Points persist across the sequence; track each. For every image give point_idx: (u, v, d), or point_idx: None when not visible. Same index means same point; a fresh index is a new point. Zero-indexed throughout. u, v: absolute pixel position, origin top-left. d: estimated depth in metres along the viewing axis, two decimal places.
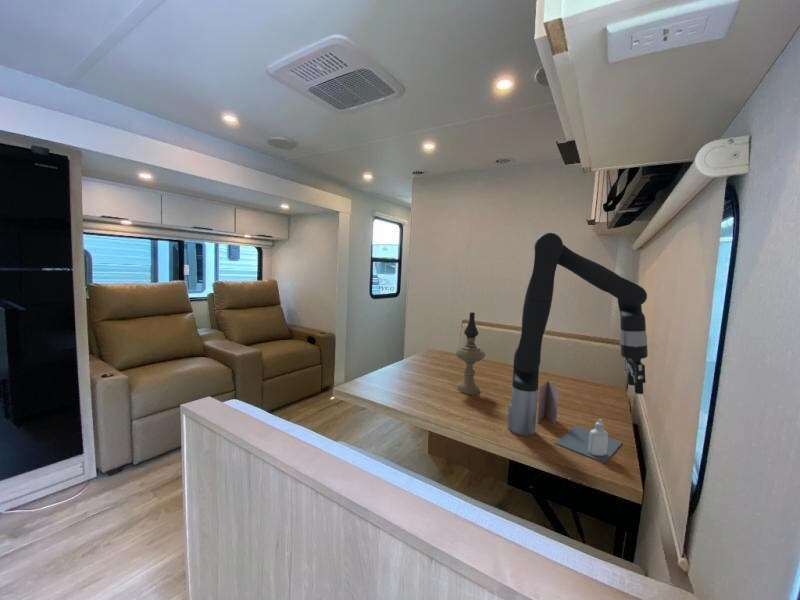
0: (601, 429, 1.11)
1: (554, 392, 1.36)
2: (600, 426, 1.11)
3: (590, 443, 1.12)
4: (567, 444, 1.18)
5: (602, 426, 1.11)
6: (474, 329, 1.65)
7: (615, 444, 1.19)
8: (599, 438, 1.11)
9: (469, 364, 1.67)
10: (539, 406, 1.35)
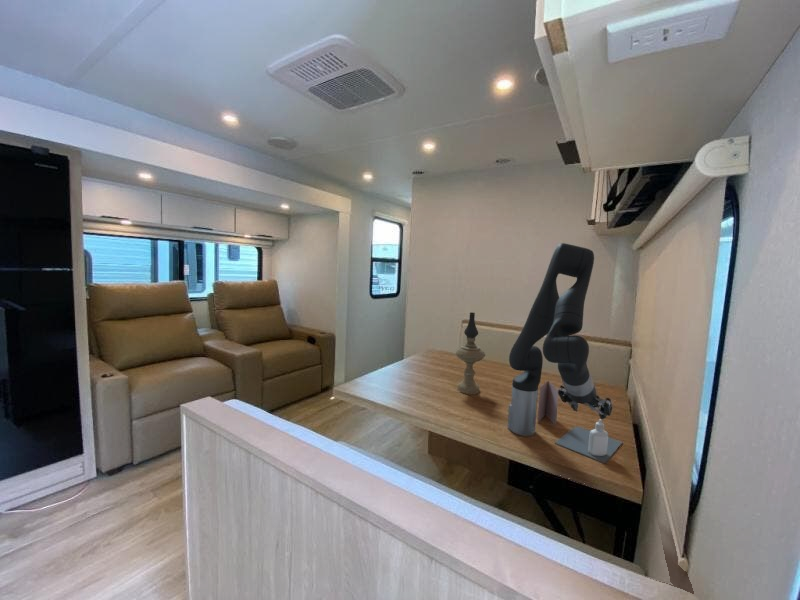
0: (601, 429, 1.11)
1: (554, 392, 1.36)
2: (600, 426, 1.11)
3: (590, 443, 1.12)
4: (567, 444, 1.18)
5: (602, 426, 1.11)
6: (474, 329, 1.65)
7: (615, 444, 1.19)
8: (599, 438, 1.11)
9: (469, 364, 1.67)
10: (539, 406, 1.35)
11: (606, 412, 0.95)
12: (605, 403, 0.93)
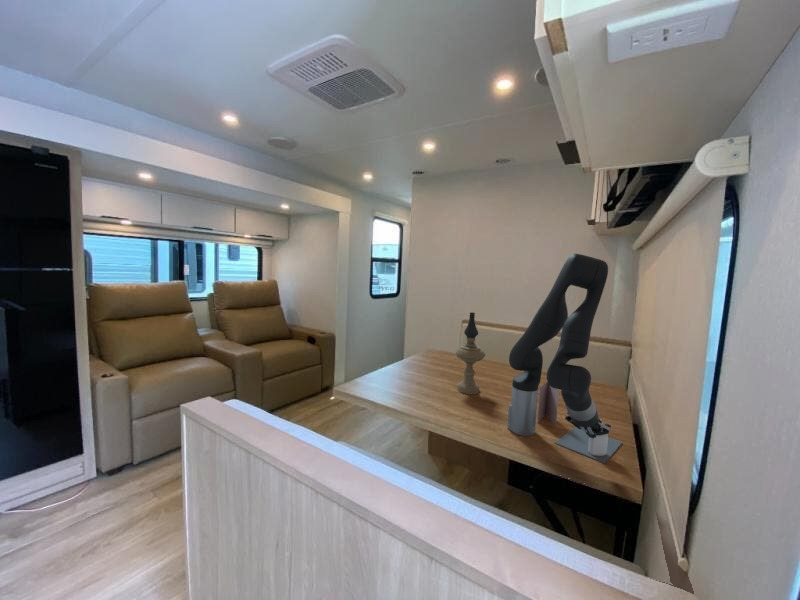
0: None
1: (554, 392, 1.36)
2: None
3: (590, 443, 1.12)
4: (567, 444, 1.18)
5: None
6: (474, 329, 1.65)
7: (615, 444, 1.19)
8: (599, 438, 1.11)
9: (469, 364, 1.67)
10: (539, 406, 1.35)
11: (598, 433, 1.01)
12: (607, 430, 0.97)
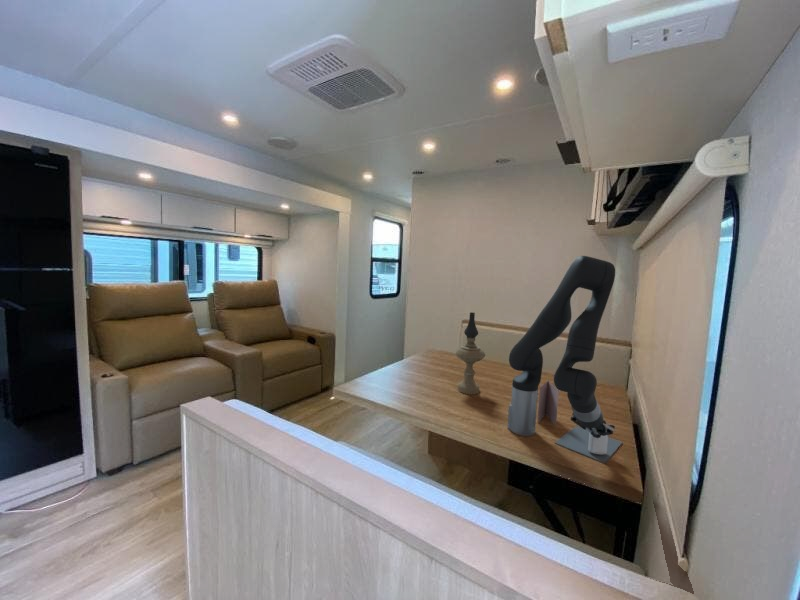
0: None
1: (554, 392, 1.36)
2: None
3: (590, 441, 1.13)
4: (567, 444, 1.18)
5: None
6: (474, 329, 1.65)
7: (615, 444, 1.19)
8: None
9: (469, 364, 1.67)
10: (539, 406, 1.35)
11: (602, 434, 1.05)
12: (611, 430, 1.01)
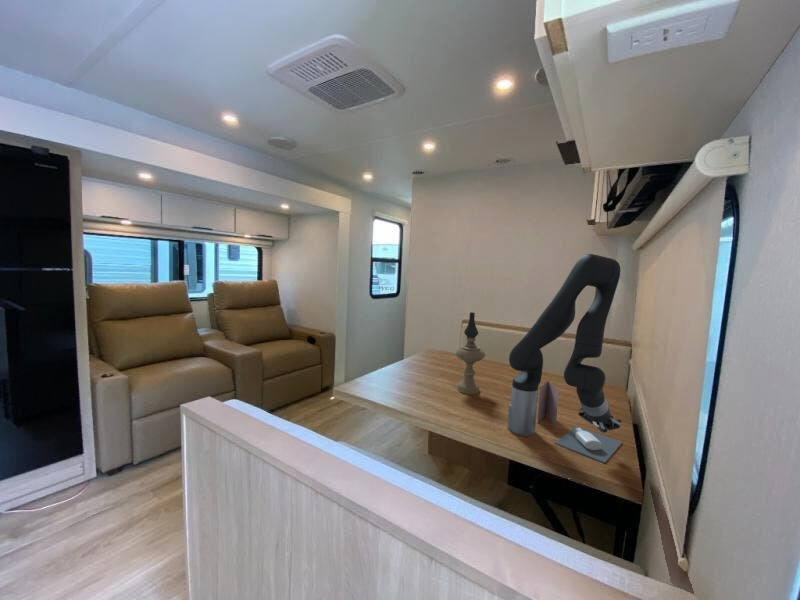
0: (580, 429, 1.24)
1: (554, 392, 1.36)
2: (578, 428, 1.25)
3: (580, 439, 1.18)
4: (567, 444, 1.18)
5: (580, 428, 1.25)
6: (474, 329, 1.65)
7: (615, 444, 1.19)
8: (583, 432, 1.21)
9: (469, 364, 1.67)
10: (539, 406, 1.35)
11: (609, 428, 1.09)
12: (618, 425, 1.06)
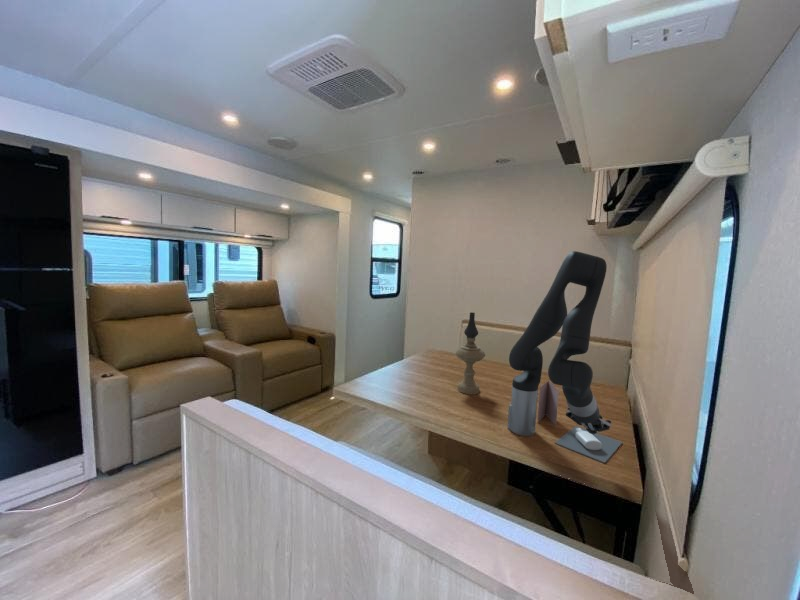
0: (580, 429, 1.24)
1: (554, 392, 1.36)
2: (578, 428, 1.25)
3: (580, 439, 1.18)
4: (567, 444, 1.18)
5: (580, 428, 1.25)
6: (474, 329, 1.65)
7: (615, 444, 1.19)
8: (583, 432, 1.21)
9: (469, 364, 1.67)
10: (539, 406, 1.35)
11: (599, 429, 1.01)
12: (607, 426, 0.98)
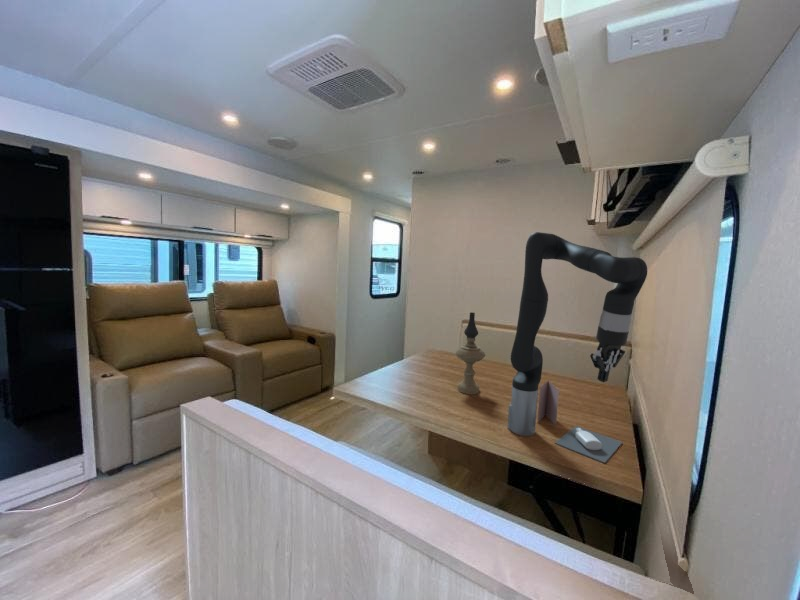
0: (580, 429, 1.24)
1: (554, 392, 1.36)
2: (578, 428, 1.25)
3: (580, 439, 1.18)
4: (567, 444, 1.18)
5: (580, 428, 1.25)
6: (474, 329, 1.65)
7: (615, 444, 1.19)
8: (583, 432, 1.21)
9: (469, 364, 1.67)
10: (539, 406, 1.35)
11: (616, 362, 0.99)
12: (622, 350, 1.00)
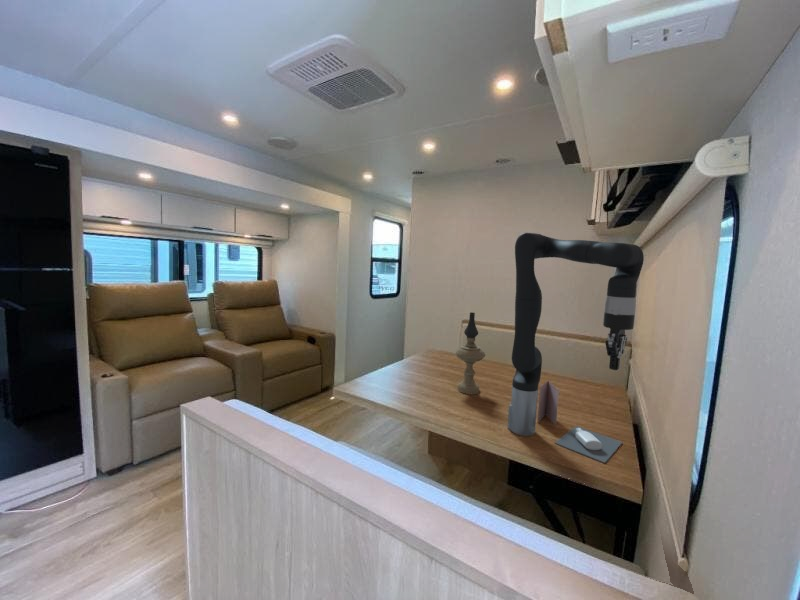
0: (580, 429, 1.24)
1: (554, 392, 1.36)
2: (578, 428, 1.25)
3: (580, 439, 1.18)
4: (567, 444, 1.18)
5: (580, 428, 1.25)
6: (474, 329, 1.65)
7: (615, 444, 1.19)
8: (583, 432, 1.21)
9: (469, 364, 1.67)
10: (539, 406, 1.35)
11: (623, 349, 1.00)
12: None
